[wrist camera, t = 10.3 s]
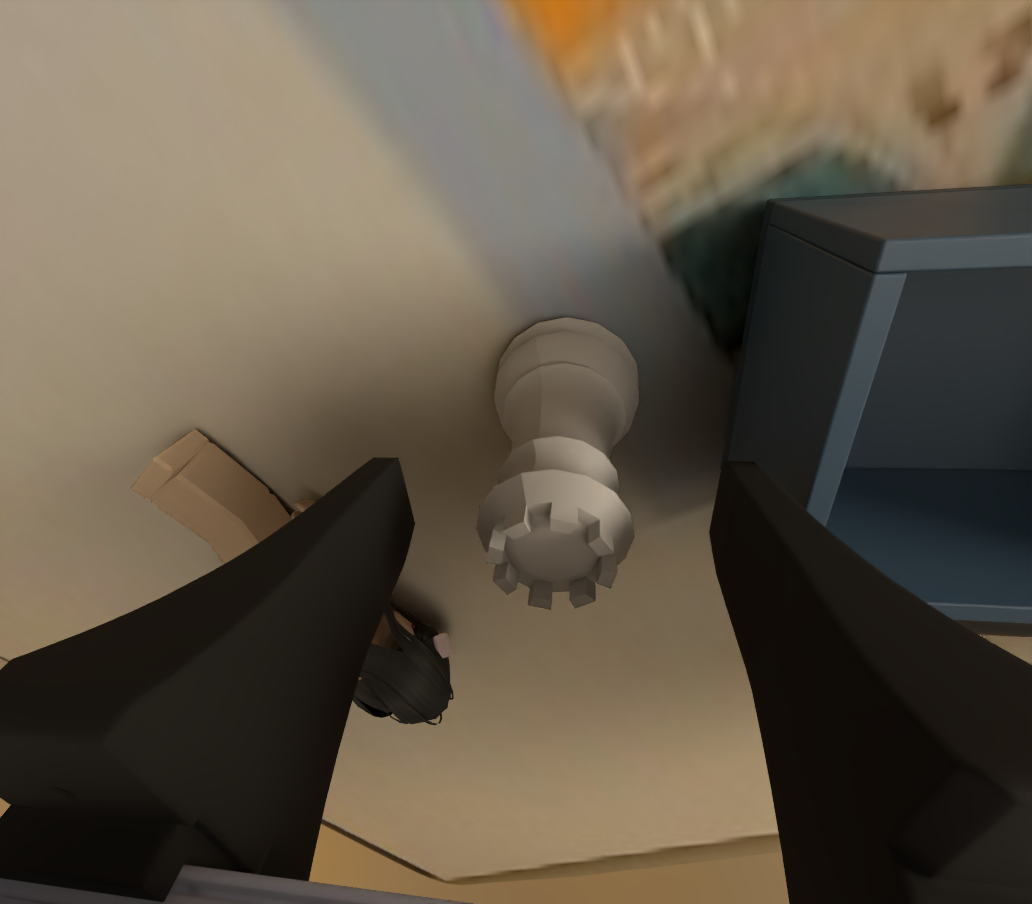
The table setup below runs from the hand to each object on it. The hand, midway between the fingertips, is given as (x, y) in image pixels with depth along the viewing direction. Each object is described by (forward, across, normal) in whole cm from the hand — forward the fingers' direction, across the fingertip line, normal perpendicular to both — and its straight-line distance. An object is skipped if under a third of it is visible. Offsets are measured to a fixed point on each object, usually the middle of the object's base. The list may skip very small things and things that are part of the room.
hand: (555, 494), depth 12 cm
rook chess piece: (+6, 0, 0) cm, 6 cm away
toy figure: (+6, +11, +9) cm, 15 cm away
